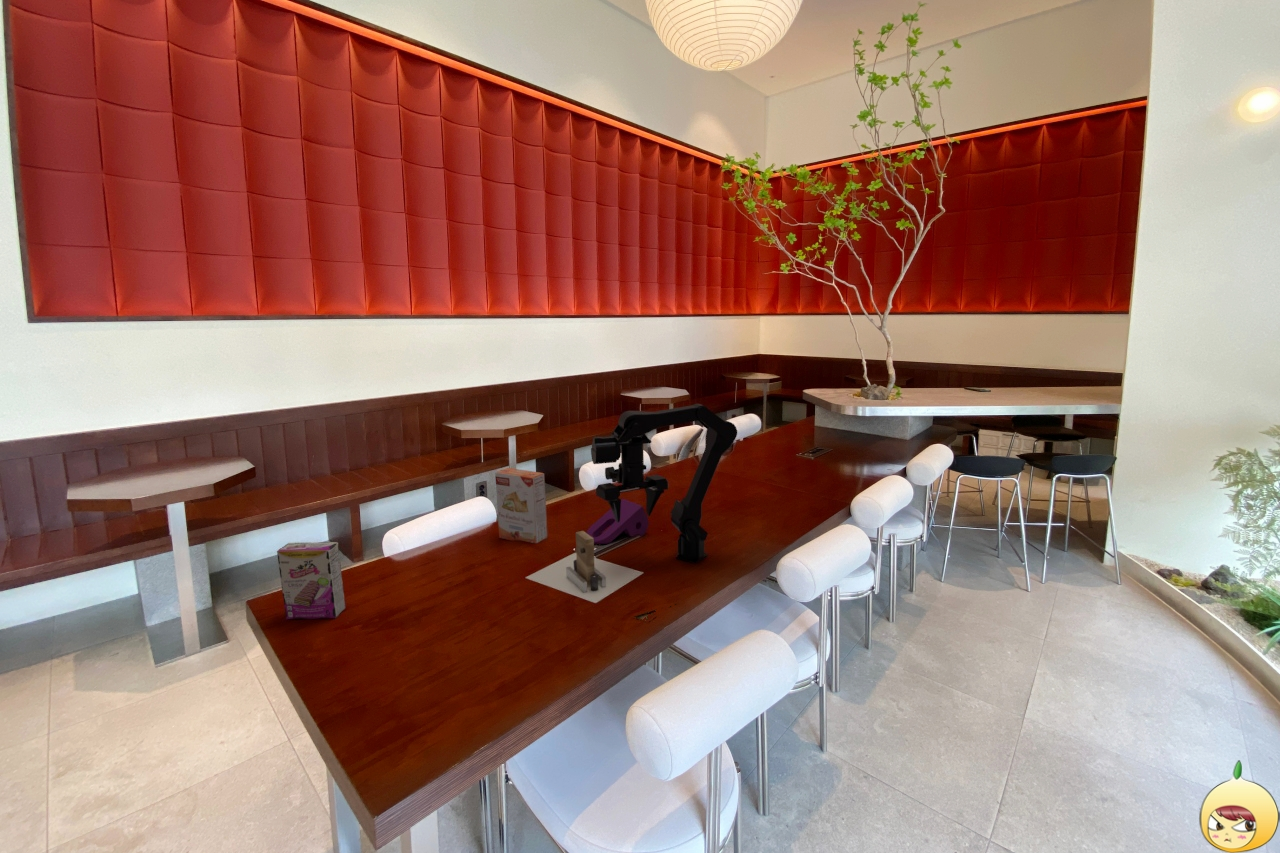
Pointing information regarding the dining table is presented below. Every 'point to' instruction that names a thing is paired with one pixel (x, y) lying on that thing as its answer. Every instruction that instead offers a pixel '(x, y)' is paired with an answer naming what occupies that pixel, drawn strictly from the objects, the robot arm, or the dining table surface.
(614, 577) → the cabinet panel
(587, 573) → the wooden block
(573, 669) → the dining table surface
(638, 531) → the mounting bracket
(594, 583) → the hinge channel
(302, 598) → the candy bar box
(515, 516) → the cracker box
